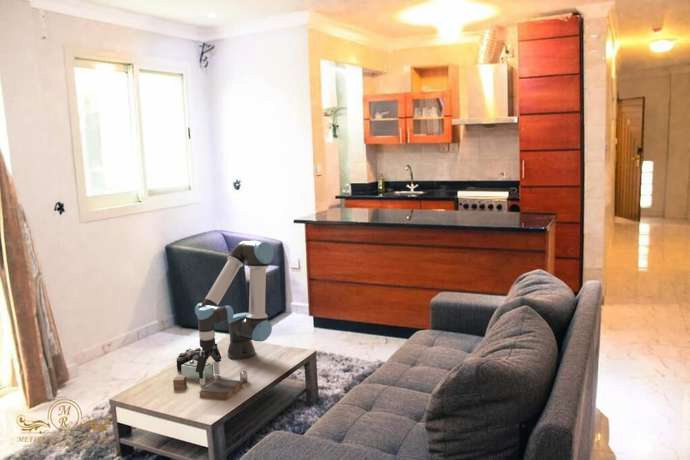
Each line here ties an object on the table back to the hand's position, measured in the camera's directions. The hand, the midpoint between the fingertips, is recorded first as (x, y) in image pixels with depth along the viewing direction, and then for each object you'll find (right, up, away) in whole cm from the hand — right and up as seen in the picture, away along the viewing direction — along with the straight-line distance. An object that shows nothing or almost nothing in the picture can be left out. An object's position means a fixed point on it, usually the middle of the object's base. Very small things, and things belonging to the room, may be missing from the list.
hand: (210, 379), depth 288 cm
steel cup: (+18, -1, -4) cm, 18 cm away
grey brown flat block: (+9, -2, -14) cm, 17 cm away
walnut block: (-13, -2, -7) cm, 15 cm away
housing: (-7, -1, +5) cm, 9 cm away
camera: (-13, +1, +19) cm, 23 cm away
